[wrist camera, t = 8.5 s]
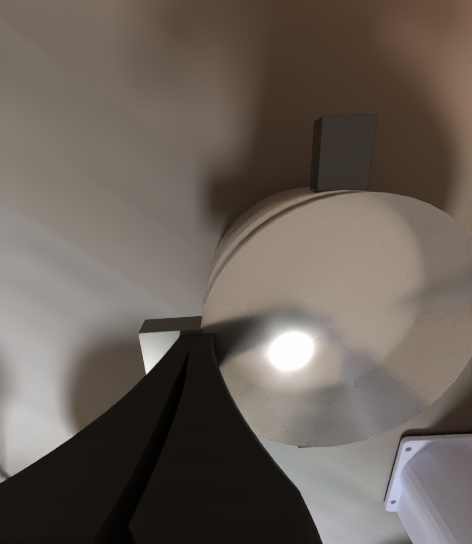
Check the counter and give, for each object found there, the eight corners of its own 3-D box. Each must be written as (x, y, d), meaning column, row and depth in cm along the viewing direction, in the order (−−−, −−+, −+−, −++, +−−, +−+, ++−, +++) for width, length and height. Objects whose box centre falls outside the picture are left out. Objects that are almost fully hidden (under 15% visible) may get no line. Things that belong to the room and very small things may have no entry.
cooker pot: (374, 385, 20) (420, 450, 15) (217, 391, 19) (213, 460, 15) (425, 130, 14) (528, 106, 9) (198, 138, 13) (182, 117, 9)
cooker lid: (431, 417, 14) (446, 434, 13) (167, 442, 13) (163, 463, 12) (504, 185, 10) (534, 185, 9) (123, 199, 9) (113, 202, 8)
